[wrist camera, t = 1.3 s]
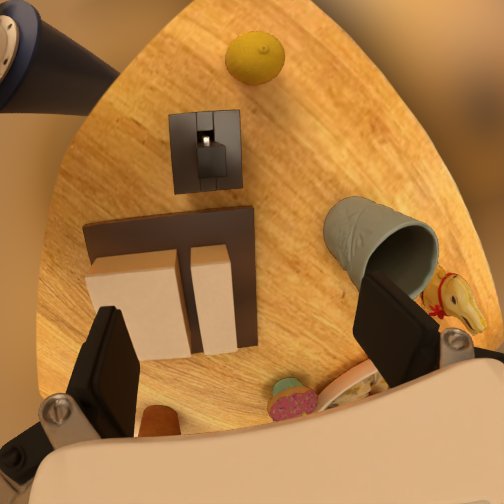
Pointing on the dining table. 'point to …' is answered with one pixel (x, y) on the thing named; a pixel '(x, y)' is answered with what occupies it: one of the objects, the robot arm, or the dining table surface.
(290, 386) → the cupcake
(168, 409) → the disposable coffee cup
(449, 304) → the chocolate bunny
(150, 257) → the cake
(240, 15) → the dining table surface
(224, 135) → the knife block
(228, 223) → the cake board
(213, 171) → the knife
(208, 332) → the cake slice
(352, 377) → the bowl
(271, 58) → the lemon
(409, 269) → the grey green embossed vase
